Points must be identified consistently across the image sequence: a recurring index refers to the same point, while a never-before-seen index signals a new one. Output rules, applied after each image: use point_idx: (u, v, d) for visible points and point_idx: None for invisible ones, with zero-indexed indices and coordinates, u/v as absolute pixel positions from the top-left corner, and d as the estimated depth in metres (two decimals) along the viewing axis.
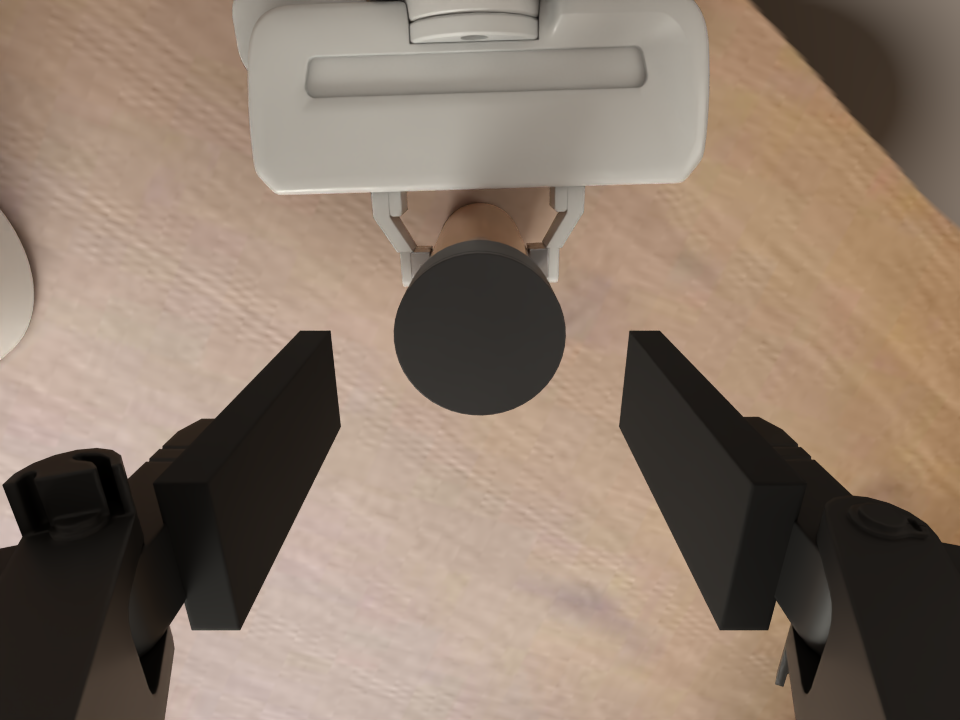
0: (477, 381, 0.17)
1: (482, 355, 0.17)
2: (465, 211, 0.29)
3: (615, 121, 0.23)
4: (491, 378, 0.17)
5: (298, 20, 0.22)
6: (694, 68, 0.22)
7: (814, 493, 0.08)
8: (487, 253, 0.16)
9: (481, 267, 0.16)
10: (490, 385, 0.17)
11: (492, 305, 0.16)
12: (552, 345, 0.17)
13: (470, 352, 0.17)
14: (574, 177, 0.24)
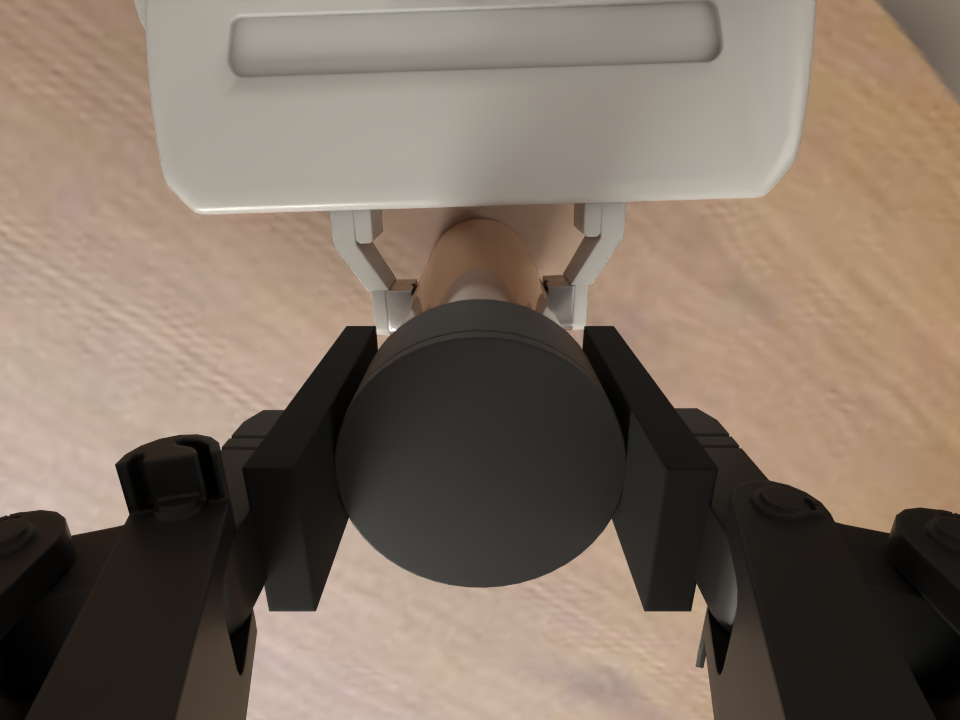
0: (476, 539, 0.10)
1: (485, 500, 0.10)
2: (461, 232, 0.22)
3: (673, 110, 0.16)
4: (500, 534, 0.10)
5: None
6: (794, 32, 0.15)
7: (733, 479, 0.09)
8: (494, 337, 0.09)
9: (483, 361, 0.09)
10: (498, 544, 0.10)
11: (502, 422, 0.09)
12: (604, 485, 0.10)
13: (465, 495, 0.10)
14: (613, 190, 0.17)
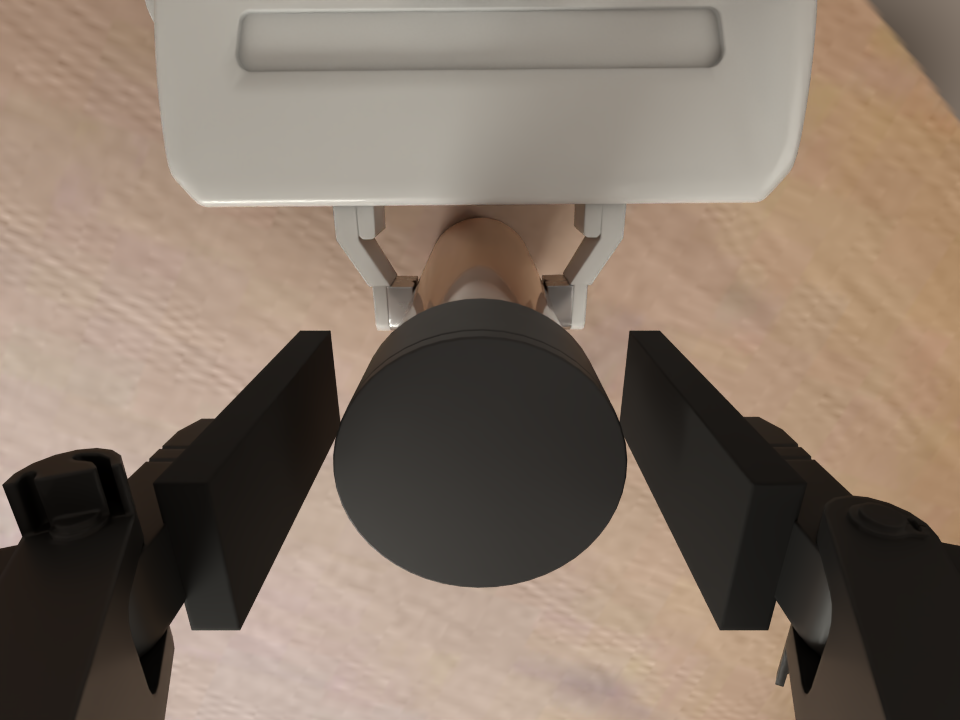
0: (555, 490, 0.10)
1: (510, 475, 0.10)
2: (462, 230, 0.22)
3: (674, 115, 0.16)
4: (556, 468, 0.10)
5: None
6: (794, 40, 0.15)
7: (814, 493, 0.08)
8: (337, 438, 0.10)
9: (356, 453, 0.10)
10: (569, 472, 0.10)
11: (423, 447, 0.10)
12: (516, 363, 0.09)
13: (500, 491, 0.10)
14: (614, 191, 0.17)
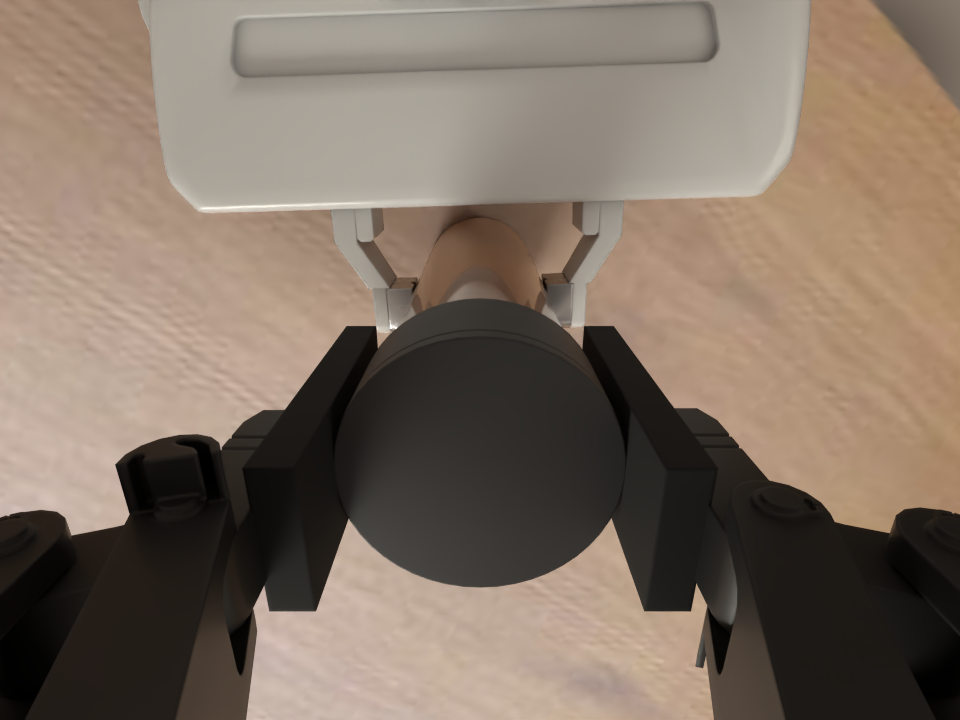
0: (556, 489, 0.10)
1: (510, 474, 0.10)
2: (461, 231, 0.22)
3: (670, 110, 0.16)
4: (555, 467, 0.10)
5: None
6: (789, 33, 0.15)
7: (734, 479, 0.09)
8: (336, 441, 0.10)
9: (356, 456, 0.10)
10: (568, 470, 0.10)
11: (423, 448, 0.10)
12: (513, 362, 0.09)
13: (500, 491, 0.10)
14: (611, 189, 0.17)
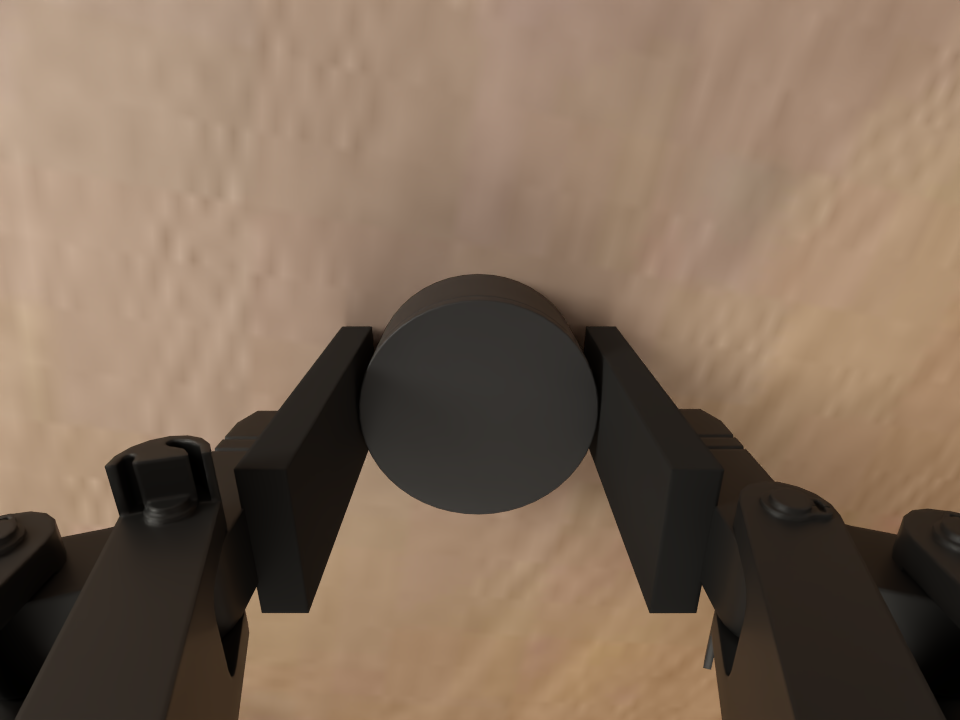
0: (541, 427, 0.12)
1: (503, 416, 0.12)
2: None
3: None
4: (541, 409, 0.12)
5: None
6: None
7: (739, 480, 0.09)
8: (361, 389, 0.12)
9: (378, 400, 0.12)
10: (551, 412, 0.12)
11: (432, 394, 0.12)
12: (506, 321, 0.11)
13: (496, 430, 0.12)
14: None
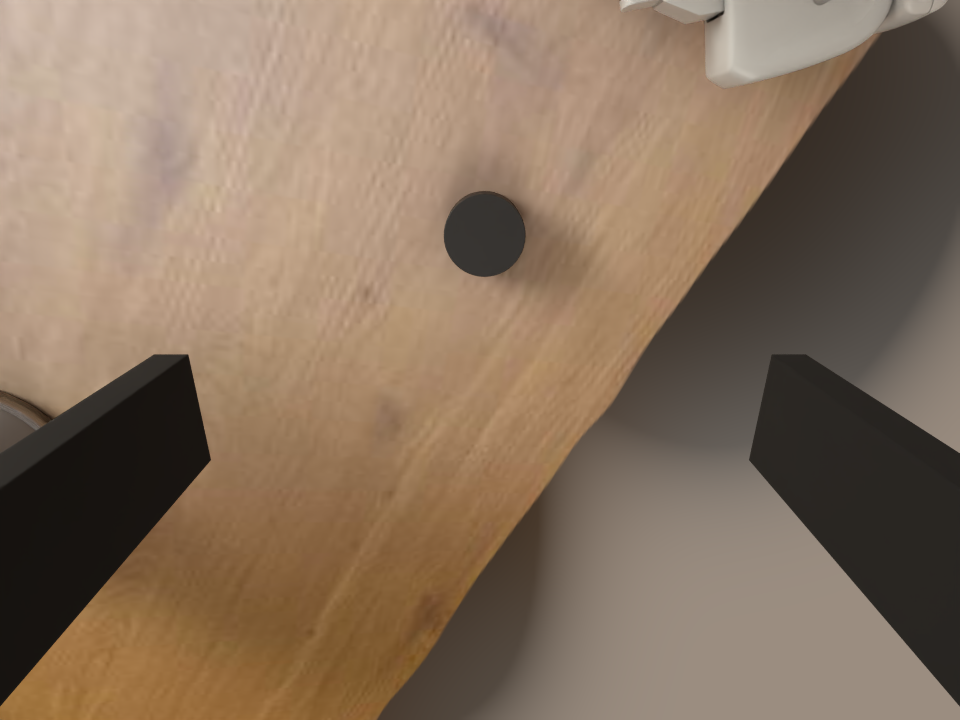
0: (505, 241, 0.36)
1: (493, 236, 0.36)
2: None
3: None
4: (505, 234, 0.35)
5: None
6: (829, 43, 0.26)
7: None
8: (445, 226, 0.35)
9: (450, 230, 0.35)
10: (509, 235, 0.35)
11: (469, 228, 0.35)
12: (493, 201, 0.35)
13: (490, 242, 0.36)
14: None
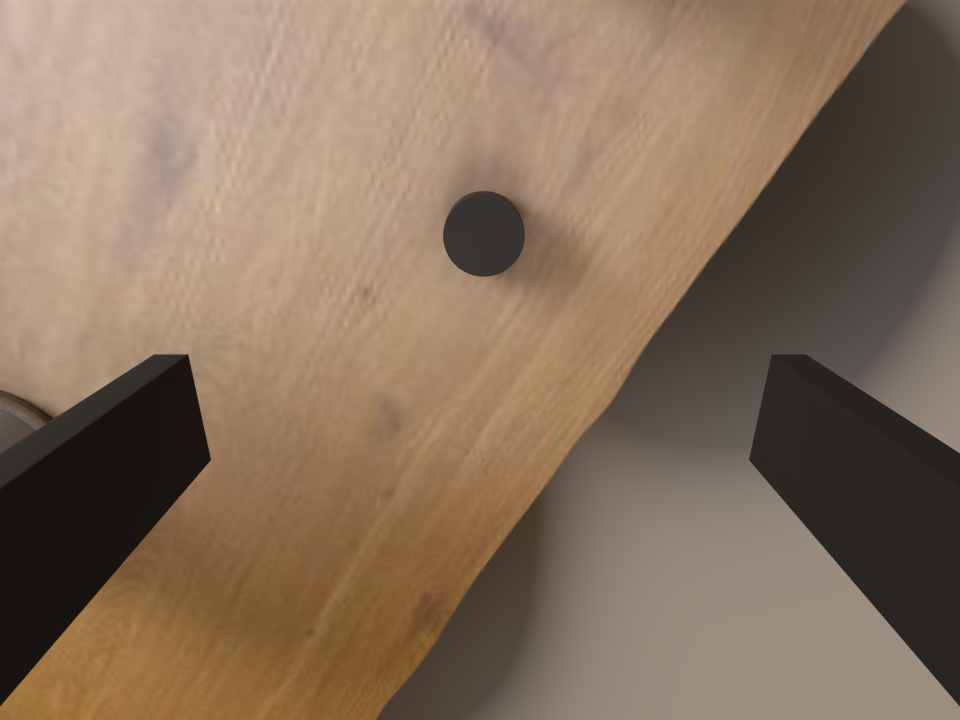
0: (505, 241, 0.36)
1: (492, 236, 0.36)
2: None
3: None
4: (504, 234, 0.36)
5: None
6: None
7: None
8: (444, 226, 0.35)
9: (449, 230, 0.35)
10: (508, 235, 0.36)
11: (468, 227, 0.35)
12: (492, 201, 0.35)
13: (489, 242, 0.36)
14: None
